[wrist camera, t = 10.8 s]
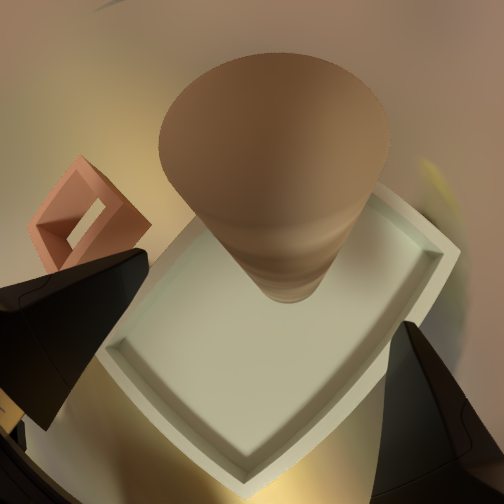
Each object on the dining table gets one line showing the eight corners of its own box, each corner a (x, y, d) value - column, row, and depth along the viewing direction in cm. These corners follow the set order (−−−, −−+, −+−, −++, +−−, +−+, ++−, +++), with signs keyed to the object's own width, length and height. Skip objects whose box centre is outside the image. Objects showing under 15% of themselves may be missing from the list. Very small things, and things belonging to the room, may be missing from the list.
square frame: (92, 299, 19) (57, 292, 15) (56, 241, 21) (26, 227, 17) (152, 224, 19) (123, 203, 16) (106, 176, 21) (80, 154, 18)
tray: (251, 481, 14) (245, 500, 11) (110, 345, 17) (89, 346, 15) (442, 260, 16) (460, 251, 13) (289, 143, 19) (288, 122, 17)
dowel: (268, 313, 16) (187, 270, 4) (245, 251, 17) (147, 94, 5) (333, 288, 15) (434, 174, 4) (306, 227, 17) (319, 39, 5)
